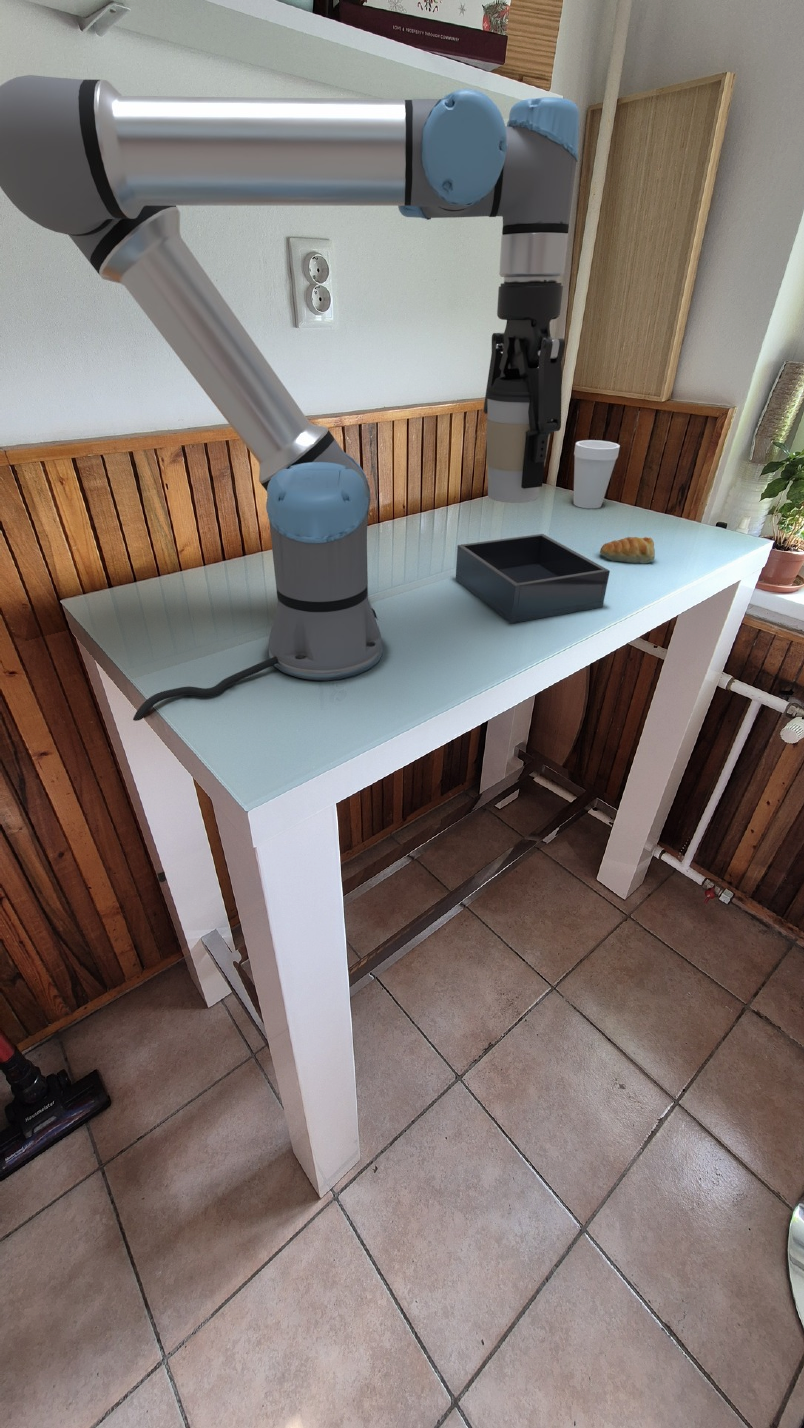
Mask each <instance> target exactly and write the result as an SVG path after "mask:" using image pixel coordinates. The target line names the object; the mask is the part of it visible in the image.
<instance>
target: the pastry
mask: <svg viewBox="0 0 804 1428" xmlns="http://www.w3.org/2000/svg"><path fill="white" fill-rule="evenodd" d="M655 549H656V548H655V542H654V540H653V538H652V537H647V536H644V537H637V536H627V537H624V538H621V539H618V540H615V539H613V540H612V541H609V542H607V543H604V544H603V545H601V548H600V550H599V554H600V555H601V556H603V557H604V558H606V559H607V560H610V561H613V562H622V563H629V564H637V563H640V564H649V563H653V562H652V561H654V559H655V556H656V550H655Z"/></svg>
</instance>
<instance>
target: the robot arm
mask: <svg viewBox="0 0 804 1428" xmlns="http://www.w3.org/2000/svg"><path fill="white" fill-rule="evenodd" d="M580 115H581V114H580V110H579V108H578V105H577V104H576V103H575V102H573V100H570V99H567V98H564V97H558V96H557V97H555V96H544V97H539V98H527V99H524V100H519V101H517V102H516V103H514V104H513V105H512V106H511V108H510V111H509V115H508V120H507V122H506V123H505V121H504V118H503V115H502V112H501V110H500V109H499V107H498V106H497V104H496V103H495V102H494V101H493V100H492V99H491V98H490V97H489V96H488V95H487V94H485V93H484V92H482V91H480V90H478V89H471V88H462V89H458V90H455V91H453V92H451V93H448V94H446V95H444V97H442V98H440V99H438V98H416V99H414V98H413V99H405V98H350V97H349V98H348V97H347V98H345V97H344V98H343V97H339V98H338V97H335V98H332V97H254V96H253V97H250V96H248V97H247V96H246V97H245V96H244V97H243V96H241V97H240V96H239V97H236V96H235V97H234V96H150V95H149V96H148V95H147V96H145V95H143V96H142V95H140V96H139V95H123V94H121V93H120V92H119V91H118V90H117V88H116V87H115V86H114V85H113V84H112V83H111V82H110V81H108V80H107V79H82V78H81V79H80V78H68V77H57V76H45V75H33V74H27V75H20V76H16V77H14V78H11V79H9V80H7V81H5V82H4V83H2V84H1V85H0V188H1V191H3V194H4V195H6V197H7V198H8V199H9V201H10V202H11V203H12V204H13V205H14V206H15V208H17V210H18V211H20V212H21V213H22V214H23V215H25V216H26V217H27V218H28V219H29V220H31V221H32V222H34V223H36V224H37V225H39V226H41V227H42V228H45V229H47V230H49V231H52V232H55V233H59V234H63V235H68V237H69V238H70V239H71V240H72V242H73V243H74V244H75V245H76V247H77V248H78V249H79V251H80V252H81V253H82V255H83V256H84V257H85V258H86V260H87V261H88V262H89V264H90V265H91V267H93V269H94V270H95V271H96V273H97V274H98V275H99V276H100V277H101V279H102V280H104V281H108V282H112V283H115V284H120V285H121V286H124V288H125V289H126V290H127V291H128V293H129V294H130V295H131V296H132V298H133V299H134V300H135V302H136V303H137V304H138V306H139V307H140V308H141V310H142V311H143V312H144V314H145V315H146V316H147V318H148V319H149V320H150V322H151V323H152V324H153V326H154V327H155V328H156V329H157V331H158V332H159V333H160V335H161V336H162V337H163V339H164V340H165V342H166V343H167V344H168V345H169V346H170V348H171V350H172V351H173V352H174V353H175V354H176V356H177V357H178V358H179V360H180V361H181V362H182V364H183V365H184V366H185V368H186V369H187V370H188V371H189V373H190V374H191V376H192V377H193V378H194V380H195V381H196V382H197V383H198V384H199V387H200V388H201V389H202V390H203V391H204V393H205V394H206V396H207V397H208V398H209V399H210V400H211V402H212V403H213V405H214V406H215V407H216V408H217V411H219V412H220V414H221V415H222V416H223V418H224V419H225V420H226V422H227V423H228V424H229V425H230V427H231V428H232V430H233V431H234V432H235V433H236V435H237V436H238V437H239V439H240V440H241V442H242V443H243V444H244V445H245V447H246V448H247V449H248V450H249V452H250V453H251V455H252V456H253V457H254V459H255V460H256V461H257V462H258V466H259V471H258V482H259V484H261V486H262V487H263V489H264V490H265V491H266V497H267V498H266V502H265V503H266V504H265V509H266V513H267V519H268V523H269V532H270V540H271V541H270V542H271V551H272V561H273V569H274V578H275V579H274V580H275V589H276V598H277V599H276V600H277V604H276V607H275V612H274V616H273V621H272V624H271V629H270V633H269V637H268V647H267V649H268V655H269V656H268V657H269V658H268V659H265V660H263V661H261V662H259V663H257V664H255V665H254V664H253V665H252V666H250V667H247V668H245V669H242V670H241V671H238V672H236V673H234V674H231V675H230V676H227V677H226V678H224V679H222V680H221V681H219V682H218V683H217V684H216V685H214V686H211V687H206V688H203V687H197V686H181V687H177V688H171V689H167V690H163V691H160V692H157V693H155V694H153V695H151V696H150V697H149V698H147V699H146V700H145V701H144V702H143V703H142V704H141V706H140V707H139V708H138V709H137V710H136V712H135V714H134V716H133V718H132V720H133V722H137V721H141V720H143V719H144V718H145V716H146V715H147V713H148V712H149V711H150V710H151V709H152V708H153V707H154V706H155V705H156V704H158V703H159V702H162V701H164V700H167V699H171V698H175V697H180V696H184V695H190V696H191V695H192V696H197V697H198V696H199V697H210V696H215V695H218V694H220V693H221V692H223V691H224V690H225V689H226V688H228V687H229V686H231V685H233V684H235V683H237V682H239V681H242V680H244V679H247V678H249V677H251V676H253V675H255V674H257V673H259V672H262V671H264V670H266V669H268V668H271V667H273V666H274V667H275V668H276V669H277V670H278V671H280V672H282V673H283V674H286V675H289V676H291V677H295V678H298V679H304V680H311V681H331V680H339V679H346V678H349V677H353V676H356V675H359V674H362V673H364V672H366V671H367V670H369V669H372V668H373V667H375V666H376V665H377V664H378V662H379V661H380V659H381V658H382V655H383V639H382V638H383V637H382V633H381V630H380V628H379V624H378V622H377V621H378V617H377V614H376V611H375V609H373V608H372V606H371V603H370V600H369V589H368V585H369V581H368V579H369V577H368V575H369V574H368V524H369V523H368V522H369V514H370V507H371V500H372V499H371V498H372V496H371V488H370V485H369V481H368V477H367V475H366V472H364V470H363V468H362V467H361V466H360V464H359V463H358V462H357V461H356V460H355V459H354V458H353V457H351V456H350V455H349V454H348V453H347V452H345V451H344V450H343V448H342V447H341V445H340V444H339V443H338V441H337V440H336V438H335V437H334V435H333V434H332V433H331V431H330V430H329V429H328V427H327V426H325V425H324V426H323V425H318V424H314V423H311V422H310V421H309V419H308V418H307V416H306V415H305V413H304V412H303V410H302V409H301V408H300V406H299V405H298V404H297V402H296V400H295V399H294V398H293V396H292V395H291V394H290V392H289V391H288V389H287V387H286V386H285V385H284V383H283V382H282V381H281V379H280V377H279V376H278V375H277V373H276V372H275V370H274V369H273V368H272V366H271V365H270V363H269V362H268V360H267V358H266V357H265V356H264V355H263V353H262V352H261V350H260V349H259V347H258V346H257V344H256V343H255V342H254V340H253V338H252V337H251V336H250V334H249V333H248V331H247V330H246V328H245V327H244V326H243V324H242V322H241V321H240V320H239V319H238V317H237V316H236V314H235V313H234V311H233V310H232V308H231V307H230V306H229V303H228V302H227V301H226V300H225V298H224V297H223V296H222V294H221V292H220V291H219V290H218V288H217V286H216V285H215V284H214V282H213V281H212V279H211V278H210V277H209V275H208V274H207V272H206V271H205V269H204V268H203V267H202V265H201V264H200V263H199V261H198V259H197V258H196V257H195V255H194V254H193V252H192V251H191V249H190V248H189V247H188V245H187V244H186V242H185V240H184V239H183V238H182V235H181V211H180V210H179V208H178V207H179V206H182V207H183V206H185V207H187V206H188V207H191V206H192V207H193V206H196V207H197V206H200V207H201V206H205V207H206V206H209V207H210V206H213V207H214V206H216V207H217V206H222V207H226V206H230V207H231V206H237V207H238V206H242V207H243V206H247V207H248V206H250V207H251V206H253V207H254V206H255V207H256V206H257V207H258V206H259V207H261V206H263V207H265V206H266V207H267V206H269V207H271V206H276V207H277V206H279V207H280V206H283V207H285V206H286V207H287V206H289V207H290V206H292V207H293V206H294V207H296V206H299V207H301V206H303V207H304V206H306V207H307V206H313V207H315V206H316V207H317V206H323V207H324V206H326V207H327V206H329V207H330V206H334V207H335V206H337V207H338V206H340V207H341V206H346V207H347V206H349V207H350V206H351V207H352V206H356V207H360V206H363V207H364V206H372V207H373V206H376V207H377V206H379V207H381V206H384V207H385V206H388V207H389V206H393V207H394V206H395V207H396V206H398V211H399V212H400V214H401V215H402V216H403V217H405V218H418V219H419V218H420V219H424V220H426V221H429V220H431V219H444V218H445V219H447V218H450V219H451V218H453V219H454V218H478V217H479V218H480V217H489V218H496V217H501V218H502V229H501V230H502V231H501V241H500V256H499V271H498V272H499V273H498V274H499V276H500V277H501V278H503V283H502V282H501V283H500V286H498V291H497V293H498V294H497V307H496V316H497V317H498V319H499V320H503V321H506V324H505V328H504V332H493V333H492V335H491V355H490V361H489V369H488V375H487V382H486V389H485V397H484V404H483V413H484V414H485V415H488V399H487V398H486V395H487V393H488V392H487V388H488V387H490V386H493V384H494V382H495V380H496V378H498V377H504V380H510V379H521V378H522V379H524V382H526V383H527V389H528V393H530V396H529V398H530V403H529V409H528V415H529V424H530V430H528V431H526V432H525V434H526V440H525V451H524V462H523V473H522V484H521V487H522V488H524V489H526V488H534V487H540V488H542V487H543V480H544V473H545V466H544V464H545V465H546V461H545V459H546V460H547V456H546V452H547V453H548V450H547V443H548V436H549V434H550V435H551V434H552V433H554V432H559V431H560V430H561V428H562V392H563V391H562V388H563V387H562V386H563V385H562V384H563V383H562V382H563V377H562V376H563V370H562V369H563V359H564V358H563V357H564V353H565V348H566V347H565V346H566V340H565V339H564V338H553V337H552V335H551V322H552V320H556V319H558V318H559V317H560V315H561V308H562V300H563V290H564V285H562V282H559V280H558V279H559V277H562V276H563V275H564V274H565V268H566V267H565V266H566V257H567V252H568V247H567V246H568V238H569V237H568V235H569V230H570V220H571V211H572V203H573V194H574V187H575V186H574V185H575V178H576V169H577V163H578V161H579V155H578V154H579V153H578V152H579V135H580V120H581V119H580V118H581V117H580ZM551 419H552V420H551ZM538 421H539V424H538ZM156 875H157V879H158V882H159V883H165V882H166V881H167V877H166V872H165V871H162V872H158V873H157V874H156Z"/></svg>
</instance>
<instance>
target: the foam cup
mask: <svg viewBox="0 0 804 1428" xmlns="http://www.w3.org/2000/svg"><path fill="white" fill-rule="evenodd" d="M620 447H621V445H620V444H619V443H616V442H612V441H609V440H599V439H598V440H597V439H596V440H595V439H585V440H579V441H578V440H577V441H576V442H575V445H574V450H573V451H574V452H573V456H574V465H573V466H574V467H573V468H574V469H573V470H574V471H573V502H572V503H573V505H574V506H576V507H577V508H583V509H599V508H601V507H602V505H603V502H604V499H605V496H606V493H607V490H608V487H609V482H610V479H611V477H612V474H613V471H614V468H615V464H616V461H617V459H618V458H619V452H620Z"/></svg>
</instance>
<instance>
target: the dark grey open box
mask: <svg viewBox="0 0 804 1428" xmlns="http://www.w3.org/2000/svg"><path fill="white" fill-rule="evenodd" d="M456 546H457V547H456V548H457V549H456V562H455V563H456V564H455V565H456V567H455V580H456V581H457V582H458V583H460V584H461V585H462V586H463V587H464V588H466V589H467V590H469V591H470V593H472V594H473V595H474V596H475V597H477V598H478V599H479V600H480V601H482V602H483V603H485V604H486V605H487V606H488V607H489V608H491V609H492V610H493V611H494V612H496V613H497V614H498V615H500V616H501V617H502V618H503V619H504V620H506V621H507V622H509V623H510V624H512V625H513V624H518V623H523V622H529V621H533V620H539V619H545V618H550V617H556V616H561V615H566V614H573V613H577V612H582V611H583V612H584V611H588V610H595V609H600V608H603V607H604V602H605V598H606V591H607V588H608V581H609V576H610V572H611V571H610V570H609V569H608V568H606V567H604V566H602V565H600V564H598V563H597V562H595V561H594V560H591V559H589V558H588V557H586V556H584V555H582V554H581V553H578V552H577V551H575V550H573V549H571V548H569V547H568V546H567V545H564V544H562V543H561V542H558V541H557V540H555V539H553V538H551V537H549V535H546V534H544V533H539V534H537V533H536V534H531V535H524V536H523V535H522V536H516V537H508V538H499V539H493V540H485V541H477V542H471V543H462V544H457V545H456Z"/></svg>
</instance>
